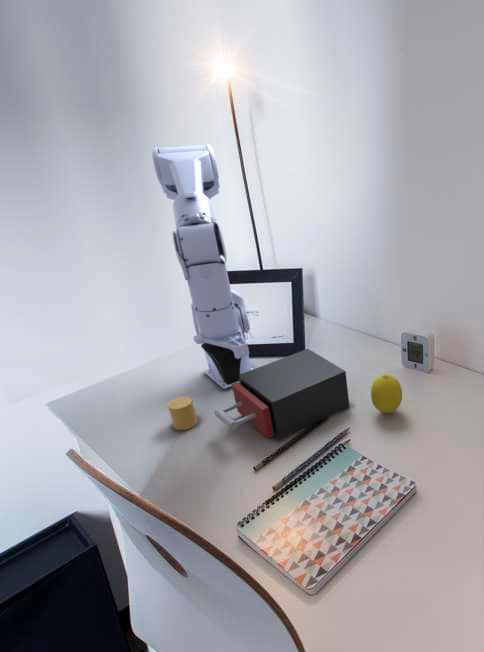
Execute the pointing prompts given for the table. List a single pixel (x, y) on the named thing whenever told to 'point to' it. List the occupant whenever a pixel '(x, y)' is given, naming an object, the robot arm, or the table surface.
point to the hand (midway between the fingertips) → (231, 381)
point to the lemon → (386, 393)
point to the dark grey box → (299, 390)
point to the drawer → (248, 410)
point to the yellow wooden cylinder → (182, 413)
